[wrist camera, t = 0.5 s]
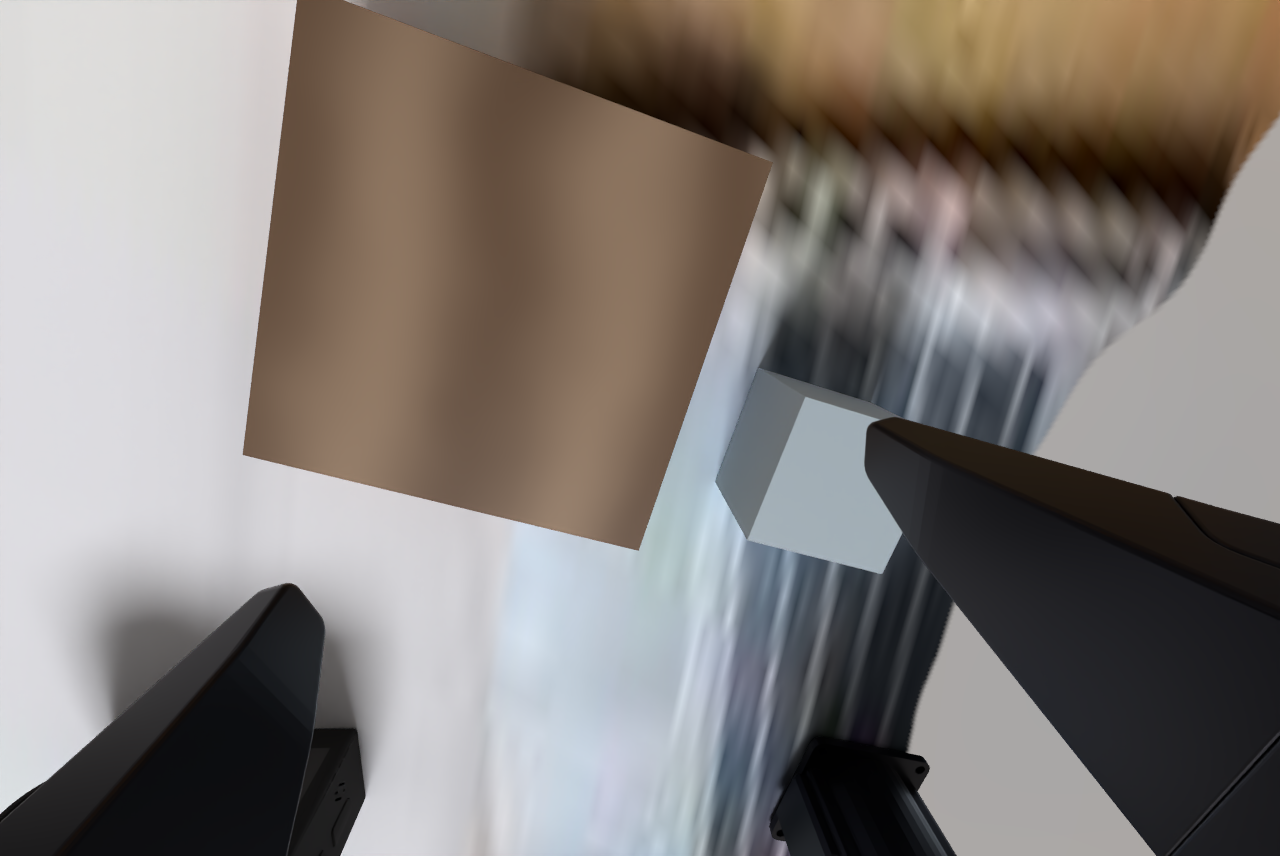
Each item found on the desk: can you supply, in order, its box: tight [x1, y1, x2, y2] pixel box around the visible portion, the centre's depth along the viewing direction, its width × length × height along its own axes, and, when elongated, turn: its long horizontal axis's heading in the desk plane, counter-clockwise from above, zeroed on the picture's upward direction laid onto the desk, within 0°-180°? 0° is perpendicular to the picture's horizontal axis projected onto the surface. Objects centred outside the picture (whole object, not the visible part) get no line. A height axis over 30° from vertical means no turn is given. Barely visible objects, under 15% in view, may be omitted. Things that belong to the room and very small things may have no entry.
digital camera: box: [0, 729, 365, 856], centre depth 21 cm, size 10×5×7 cm, turn 87°
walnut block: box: [243, 0, 773, 551], centre depth 18 cm, size 13×13×4 cm
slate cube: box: [715, 368, 903, 574], centre depth 19 cm, size 5×5×5 cm
